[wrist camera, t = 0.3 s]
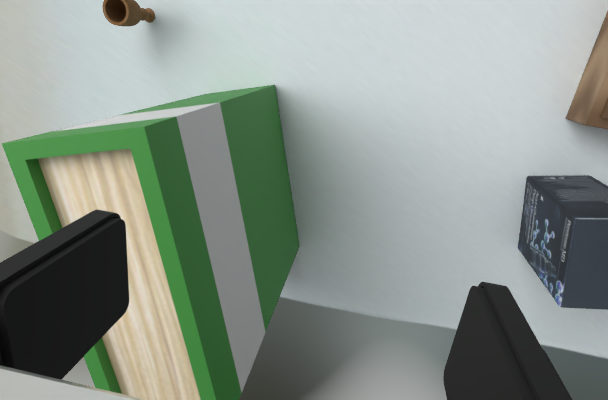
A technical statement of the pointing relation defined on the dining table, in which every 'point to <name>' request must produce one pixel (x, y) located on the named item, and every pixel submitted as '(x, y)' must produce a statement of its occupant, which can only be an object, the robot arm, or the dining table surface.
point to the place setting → (126, 12)
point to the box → (567, 238)
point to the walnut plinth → (593, 86)
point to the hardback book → (177, 233)
